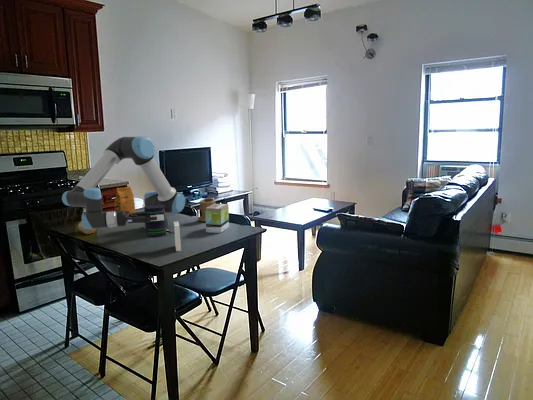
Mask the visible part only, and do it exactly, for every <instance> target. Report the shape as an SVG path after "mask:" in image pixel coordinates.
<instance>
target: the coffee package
mask: <svg viewBox="0 0 533 400" xmlns="http://www.w3.org/2000/svg"><path fill="white" fill-rule="evenodd" d="M114 211H115V212H117V211H125V215H128V214H129V213H135V212H136V205H135V197H134V193H133V191H132V187H131V186H130V185H129V186H125V187H116V196H115V197H114Z"/></svg>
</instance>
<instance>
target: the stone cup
mask: <svg viewBox="0 0 533 400" xmlns="http://www.w3.org/2000/svg"><path fill="white" fill-rule="evenodd" d="M213 204H216V200H215V199H214V198H213V197H206V198H203V199H201V200H200V201H199V210H200V213H201V216H198V217H197V221H199V222H206V213H205V208H207V207H209V206H211V205H213Z"/></svg>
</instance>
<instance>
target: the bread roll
mask: <svg viewBox="0 0 533 400" xmlns="http://www.w3.org/2000/svg"><path fill="white" fill-rule="evenodd" d="M77 229H78V230H79V231H80V232H81V233H83V234H85V235H88V234H90V235H92V234H91V233H93V234H95V233H96V230H97V228H96V229H84V228H83V226H82V220H81V221H79V222H78V224H77Z"/></svg>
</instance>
